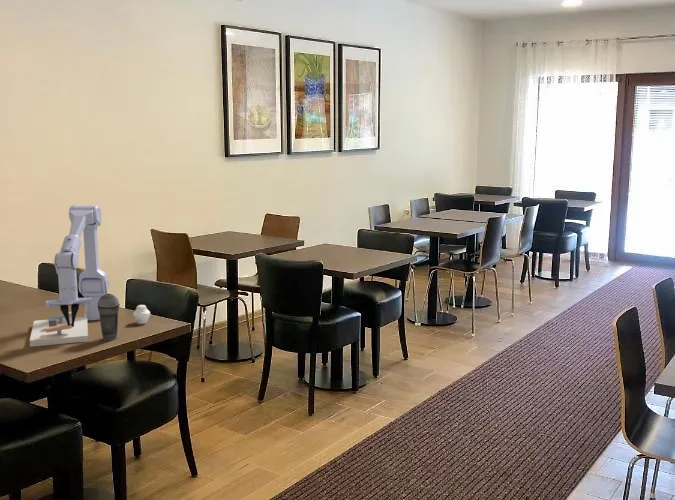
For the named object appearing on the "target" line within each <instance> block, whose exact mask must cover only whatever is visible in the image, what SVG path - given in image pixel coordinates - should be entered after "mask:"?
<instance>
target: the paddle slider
mask: <svg viewBox="0 0 675 500" xmlns="http://www.w3.org/2000/svg"><path fill="white" fill-rule="evenodd" d="M52 326H57V318H53V319H49V327H52Z"/></svg>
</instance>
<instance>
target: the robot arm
mask: <svg viewBox="0 0 675 500" xmlns="http://www.w3.org/2000/svg"><path fill="white" fill-rule="evenodd" d="M68 217H69V220H70V225H71V226H70V229H69V233H68V235H66V236H65V237H64V238H63V241H62V244H61V248H60V250H59V252H58V253H56V254H55V256H54V259H53V262H54V263H53V264H54V267H55V271H56V274H57V276H58V277H57V278H58V292H59V299H51V300H45V308H46V309H47V308H49V309H50V308H55V307H60V309H59V310H60V311H61V314H62V313H63V315H64V317H65V319H66V321H67V325H70V320H69V318H70V316H69V312H70V311H69V306H70V309H71V313H72V316H71V318H72V327H74V321H75V318H76V317H77V313H78V311H79V308H80V306H82V305H84V315H83V317H87V322H89V321H98V320H99V321H100V315H99V311H98V307H97V306H98V301H99V299H100V297H101V296H103V295H105V294H106V292H105V284H104V281H106V287H107V293H108V292H109V288H110V287H109V286H110V283H109V278H108V274H107V272H105V271H103V270H102V269H101V268H100V261H99V246H98V245H99V242H98V241H99V240H98V227H100V226H102V211H101V208H100V206H99V205H97V204H95V205H78V204H77V205H76V204H72V205H71V206H70V207H69V209H68ZM82 235H83V249H84V264H85V270H84V271H82V272H81V273H80V274H79V276H78V275H77V269H78V266H79V261H80V260H79V259H80V255H79V253H80V249H81V246H82V239H81V236H82ZM77 276H78V278H77ZM78 290H79V293H80V294H81V295H82V297H79V296H78V294H79V293H78Z"/></svg>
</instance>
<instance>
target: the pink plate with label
mask: <svg viewBox="0 0 675 500" xmlns="http://www.w3.org/2000/svg"><path fill="white" fill-rule="evenodd" d="M70 328H72V323H70V325H67V324H64V325H58V326H52V327H46V332H47V333H48V332H53V331H59V330H65V329H70Z"/></svg>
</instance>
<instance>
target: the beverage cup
mask: <svg viewBox="0 0 675 500" xmlns="http://www.w3.org/2000/svg"><path fill="white" fill-rule="evenodd" d="M104 284H105V292H106V294H105V295H103V296H101V297H100V299H99V301H98V306H97V307H98V311H99V315H100V320H99V321H100V328H101V335H102V340H103V341H106V342H107V341H109V342H110V341H115V340H117V338H118V329H119V328H118V325H119V311H120V301H119V298H117V296H115V295H114V294H113V293H112V294H111V293H108V292H107V287H106V281H104Z"/></svg>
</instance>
